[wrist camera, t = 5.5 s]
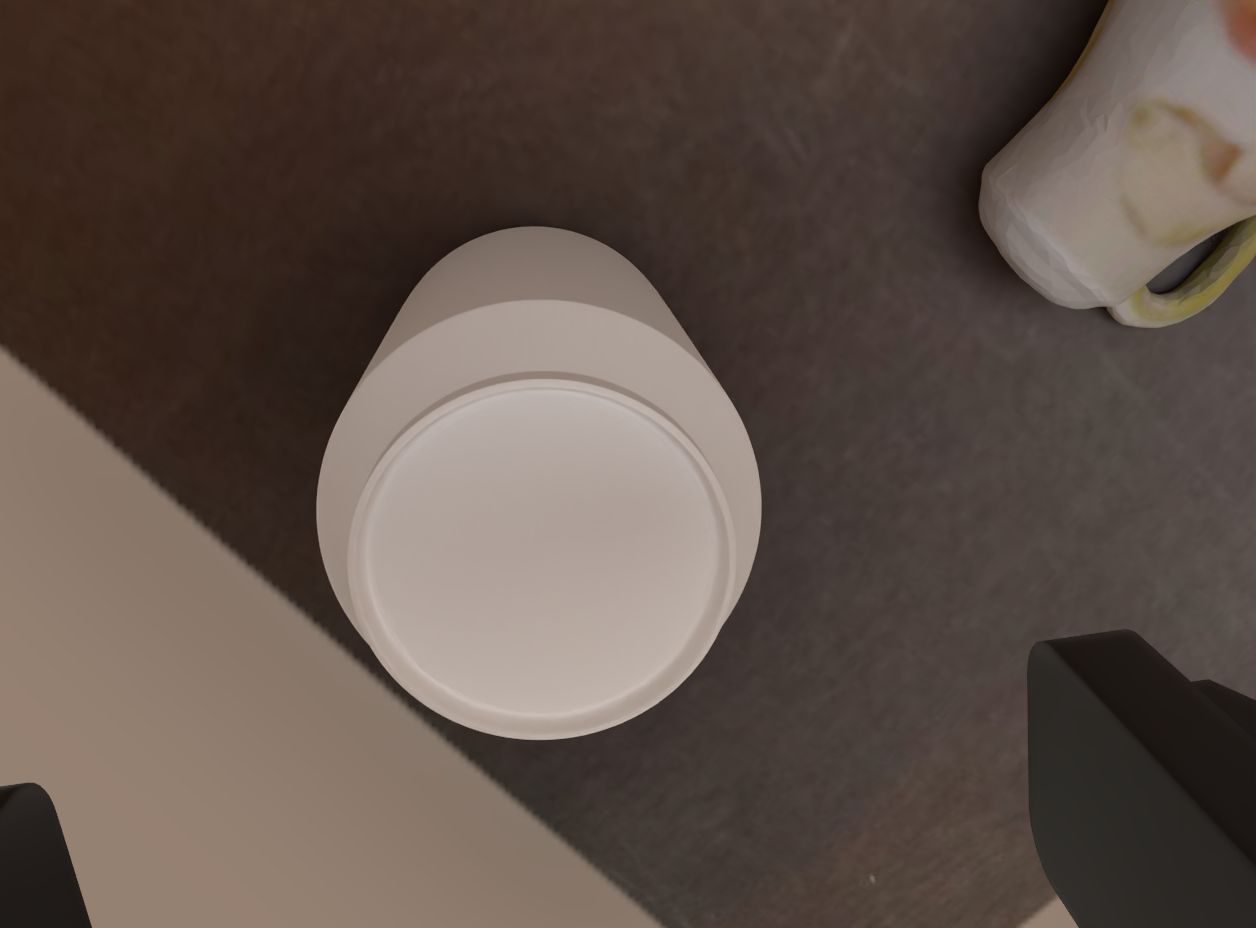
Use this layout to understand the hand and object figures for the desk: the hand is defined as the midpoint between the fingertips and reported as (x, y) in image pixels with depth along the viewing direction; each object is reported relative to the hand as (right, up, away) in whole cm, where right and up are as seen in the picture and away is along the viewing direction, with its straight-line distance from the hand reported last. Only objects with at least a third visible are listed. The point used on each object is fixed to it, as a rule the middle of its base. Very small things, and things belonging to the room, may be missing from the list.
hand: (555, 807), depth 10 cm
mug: (+12, +11, +16) cm, 23 cm away
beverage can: (-1, +5, +17) cm, 18 cm away
